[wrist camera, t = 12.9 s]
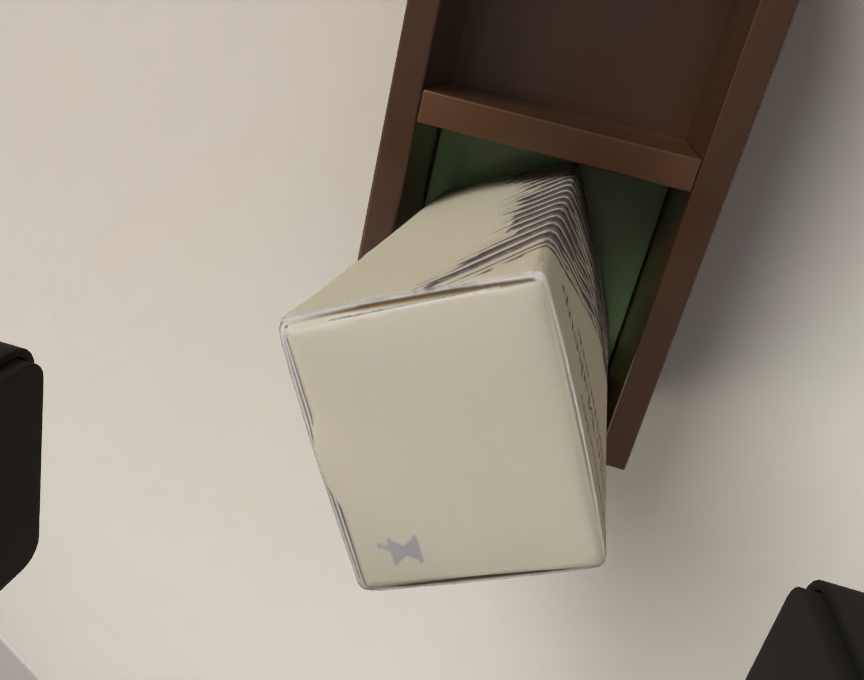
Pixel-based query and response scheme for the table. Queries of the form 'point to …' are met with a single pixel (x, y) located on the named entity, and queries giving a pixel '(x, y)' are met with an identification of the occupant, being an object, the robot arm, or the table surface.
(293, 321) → the box
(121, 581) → the table surface
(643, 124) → the divided tray
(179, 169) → the table surface
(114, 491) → the table surface
